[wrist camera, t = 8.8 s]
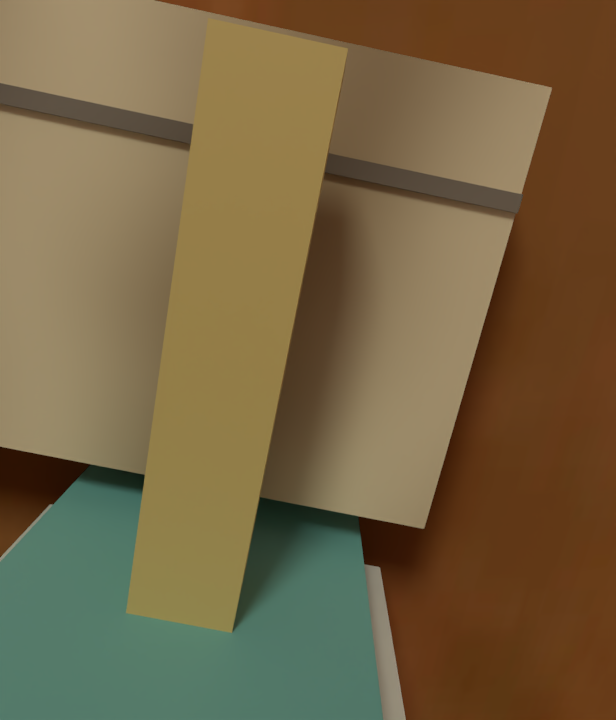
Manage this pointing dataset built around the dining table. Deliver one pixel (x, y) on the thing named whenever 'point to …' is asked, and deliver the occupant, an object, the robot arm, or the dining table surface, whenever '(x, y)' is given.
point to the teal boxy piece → (209, 458)
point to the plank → (324, 264)
